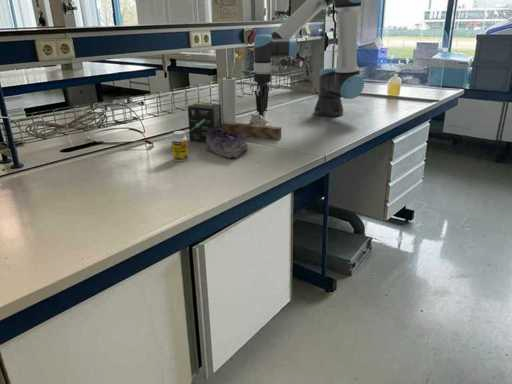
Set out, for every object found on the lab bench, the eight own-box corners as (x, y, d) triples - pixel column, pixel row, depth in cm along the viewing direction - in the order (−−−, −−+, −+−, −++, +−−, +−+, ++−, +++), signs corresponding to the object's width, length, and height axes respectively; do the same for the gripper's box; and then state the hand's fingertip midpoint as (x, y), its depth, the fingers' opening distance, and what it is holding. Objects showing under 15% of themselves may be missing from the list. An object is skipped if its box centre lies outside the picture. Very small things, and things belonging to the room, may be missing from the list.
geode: (194, 150, 163) (195, 124, 160) (216, 148, 171) (217, 123, 168) (230, 160, 150) (231, 132, 147) (252, 157, 158) (254, 130, 155)
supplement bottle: (173, 162, 150) (171, 134, 145) (172, 157, 155) (170, 130, 150) (189, 161, 151) (187, 133, 147) (188, 156, 156) (186, 129, 152)
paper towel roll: (239, 123, 200) (238, 77, 192) (229, 126, 196) (228, 79, 188) (228, 121, 205) (227, 76, 196) (219, 123, 201) (217, 77, 192)
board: (281, 138, 177) (281, 127, 175) (278, 140, 175) (279, 129, 173) (225, 132, 186) (224, 121, 184) (222, 134, 183) (221, 123, 181)
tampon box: (222, 138, 178) (221, 103, 172) (213, 144, 170) (212, 108, 164) (199, 135, 182) (197, 101, 176) (189, 141, 174) (187, 106, 168)
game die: (260, 140, 187) (265, 127, 179) (243, 132, 187) (247, 119, 179) (267, 126, 192) (272, 113, 183) (250, 119, 192) (254, 105, 183)
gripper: (259, 70, 188) (259, 121, 198) (249, 74, 177) (249, 128, 187) (275, 71, 186) (274, 123, 196) (265, 75, 175) (264, 130, 184)
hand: (261, 125), depth 191 cm, fingers closed
